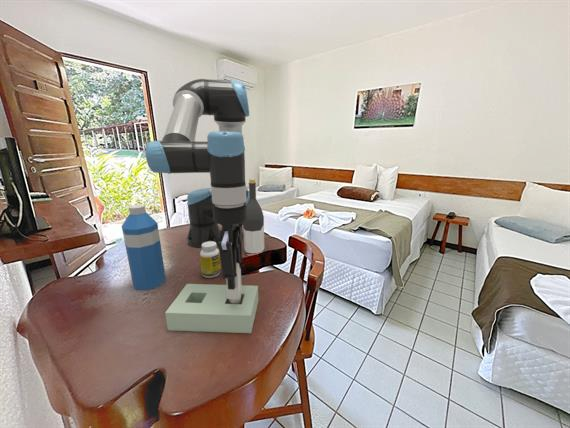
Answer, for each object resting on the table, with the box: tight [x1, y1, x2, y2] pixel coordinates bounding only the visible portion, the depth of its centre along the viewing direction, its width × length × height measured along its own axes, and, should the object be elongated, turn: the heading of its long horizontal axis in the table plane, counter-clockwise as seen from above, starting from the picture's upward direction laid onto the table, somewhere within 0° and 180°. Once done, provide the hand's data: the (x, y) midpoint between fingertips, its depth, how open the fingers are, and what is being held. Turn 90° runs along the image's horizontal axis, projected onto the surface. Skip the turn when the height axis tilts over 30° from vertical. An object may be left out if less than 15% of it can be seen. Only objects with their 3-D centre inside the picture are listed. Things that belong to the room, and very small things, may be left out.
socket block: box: [164, 283, 259, 334], centre depth 63 cm, size 12×20×5 cm, turn 88°
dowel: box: [229, 262, 241, 304], centre depth 61 cm, size 3×3×12 cm
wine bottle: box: [242, 178, 265, 255], centre depth 94 cm, size 8×8×30 cm
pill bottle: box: [199, 241, 222, 279], centre depth 81 cm, size 6×6×11 cm
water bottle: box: [121, 204, 167, 291], centre depth 74 cm, size 9×9×25 cm
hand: (234, 294), depth 61 cm, fingers closed on dowel, 2 cm apart
